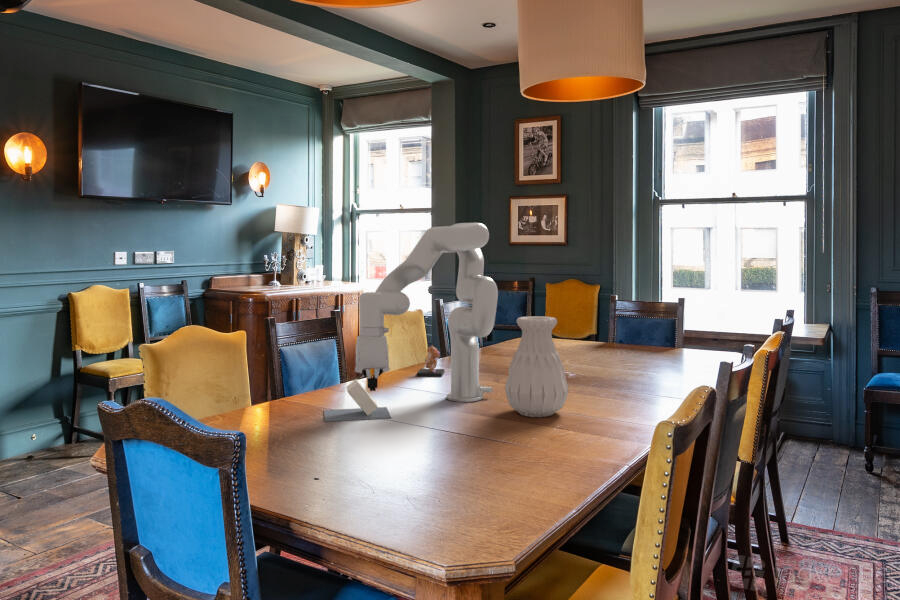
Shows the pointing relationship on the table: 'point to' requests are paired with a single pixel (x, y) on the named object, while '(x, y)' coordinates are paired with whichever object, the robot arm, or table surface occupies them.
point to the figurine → (431, 364)
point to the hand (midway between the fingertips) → (372, 390)
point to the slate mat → (355, 414)
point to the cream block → (361, 397)
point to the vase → (536, 370)
